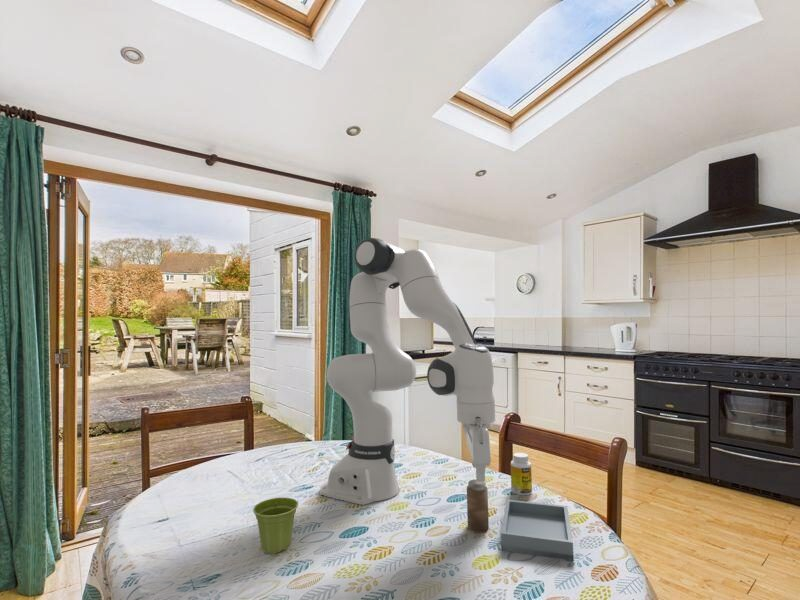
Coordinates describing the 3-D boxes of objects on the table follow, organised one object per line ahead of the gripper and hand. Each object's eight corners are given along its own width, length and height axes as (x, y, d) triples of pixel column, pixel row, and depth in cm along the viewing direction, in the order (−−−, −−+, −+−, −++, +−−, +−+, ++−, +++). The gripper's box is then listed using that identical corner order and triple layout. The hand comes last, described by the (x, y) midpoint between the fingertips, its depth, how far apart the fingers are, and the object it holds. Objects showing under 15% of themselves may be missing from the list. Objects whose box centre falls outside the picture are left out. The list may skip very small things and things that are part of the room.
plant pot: (262, 535, 97) (262, 497, 98) (303, 535, 97) (302, 496, 97) (246, 558, 88) (246, 516, 88) (291, 558, 88) (291, 515, 88)
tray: (501, 550, 89) (501, 533, 89) (507, 513, 105) (506, 499, 105) (573, 560, 85) (572, 542, 85) (567, 521, 101) (567, 506, 101)
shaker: (466, 530, 97) (465, 485, 98) (469, 521, 102) (468, 478, 102) (487, 533, 96) (486, 487, 96) (489, 523, 101) (488, 479, 101)
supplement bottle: (522, 498, 114) (521, 459, 115) (507, 491, 119) (505, 454, 119) (536, 492, 117) (535, 455, 118) (520, 486, 122) (519, 450, 122)
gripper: (496, 423, 90) (499, 490, 89) (484, 405, 110) (486, 459, 109) (466, 423, 90) (468, 490, 89) (459, 405, 110) (461, 460, 109)
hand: (478, 473), depth 99 cm, fingers open, 8 cm apart
